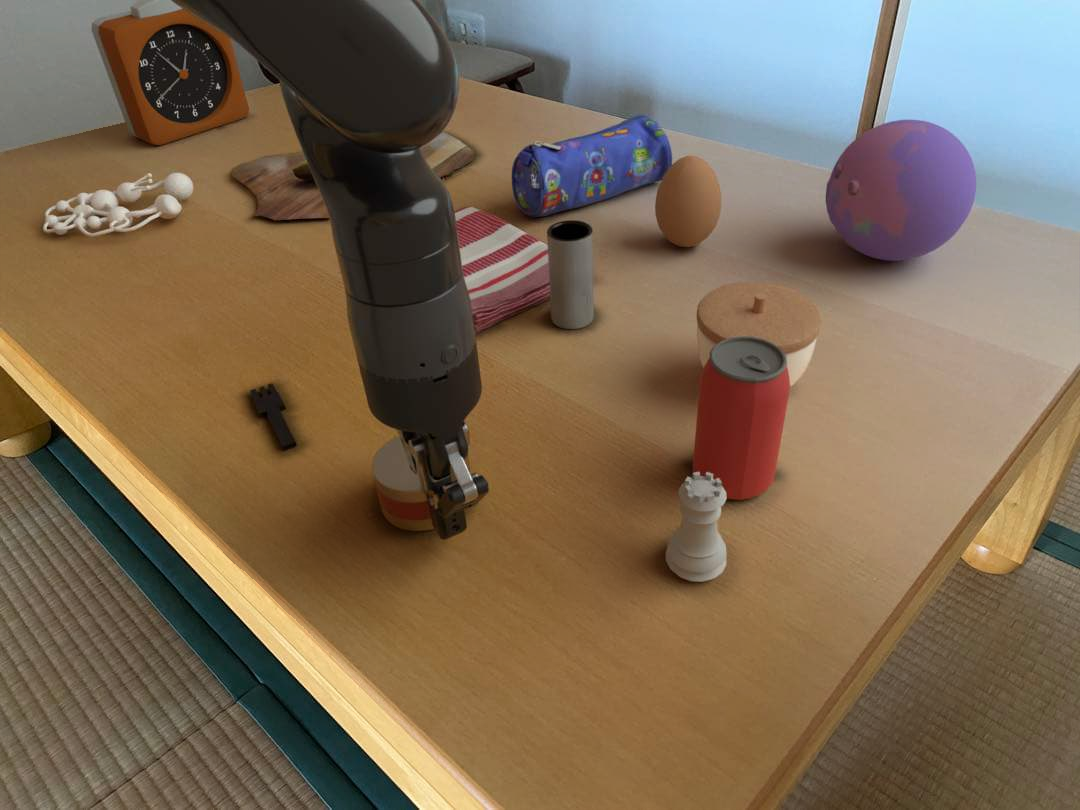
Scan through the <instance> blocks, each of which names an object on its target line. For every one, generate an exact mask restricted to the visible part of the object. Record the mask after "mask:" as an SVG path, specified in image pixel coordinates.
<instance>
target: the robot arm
mask: <svg viewBox="0 0 1080 810" xmlns="http://www.w3.org/2000/svg"><path fill="white" fill-rule="evenodd" d="M171 1H173V2H174V3H175V4H177V5H178V6H180V7H181V8H183V9H184V10H186V11H187V12H189V13H190V14H192V15H193V16H195V17H196V18H198V19H200V20H201V21H203V22H205V23H206V24H208V25H210V26H212V27H213V28H215V29H217V30H219V31H220V32H222V33H224V34H225V35H227V36H228V37H230V39H231V41H233V42H235V43H236V44H237V45H238V46H240V47H241V48H242V49H243V50H245V51H246V52H247V53H248V54H249V55H250V56H251V57H252V58H253V59H254V60H256V61H257V62H258V63H259V64H260V65H262V67H264V68H265V69H266V70H267V71H269V72H270V73H271V74H272V75H273V76H274V77H275V78H276V79H278V82H279V86H280V90H281V94H282V98H283V101H284V104H285V107H286V110H287V113H288V116H289V118H290V122H291V124H292V127H293V130H294V132H295V135H296V138H297V141H298V143H299V145H300V148H301V150H302V151H301V152H303V153H304V156H305V158H306V161H307V163H308V166H309V168H310V171H311V173H312V175H313V178H314V180H315V182H316V185H317V187H318V189H319V191H320V194H321V196H322V198H323V201H324V204H325V206H326V209H327V212H328V215H329V218H328V219H329V222H330V228H331V236H332V241H333V245H334V250H335V254H336V258H337V262H338V266H339V270H340V274H341V279H342V284H343V287H344V294H345V301H346V315H347V316H346V317H347V322H348V327H349V330H350V331H349V332H350V335H351V339H352V344H353V347H354V352H355V356H356V360H357V364H358V367H359V373H360V377H361V381H362V385H363V389H364V394H365V398H366V401H367V405H368V408H369V411H370V412H371V414H372V416H373V417H374V418H375V419H376V420H377V421H378V422H380V423H381V424H382V425H384V426H387V427H388V428H391V429H394V430H396V433H397V434H398V436H400V439H401V441H402V444H403V447H404V449H405V452H406V455H407V459H408V463H409V466H410V469H411V470H412V471H413V472H414V474H418V478H419V480H420V488H421V490H422V492H424V494H425V495H426V496H427V501H428V505H429V510H430V515H431V520H432V525H433V527H434V529H433V530H434V531H435V532H436V534H437V535H438V537H439V538H440V540H442V541H445V540H448V539H450V538H453V537H455V536H457V535H459V534H461V533H463V532H465V531H466V529H467V528H468V526H467V520H466V519H467V518H466V512H465V510H466V509H471V508H473V507H475V506H477V505H478V504H479V502H481V500H482V499H483V498H484V497H485V496H486V495H487V494H488V493H489V492H490V490H489V482H488V480H487V479H486V478H485V476H483V474H480V475H478V473H477V472H473V473H471V466H470V459H469V446H470V444H471V437H470V436H471V435H470V430H469V427H468V425H467V423H466V422H465V420H466V419H467V418H468V416H469V415H470V414H471V412H472V411H473V410H474V409H475V408H476V406H477V404H478V403H479V401H480V399H481V396H482V392H483V384H482V376H481V368H480V360H479V352H478V345H477V337H476V334H475V329H474V322H473V314H472V307H471V301H470V296H469V292H468V289H467V286H466V282H465V279H464V275H463V269H462V262H461V254H460V247H459V239H458V232H457V225H456V218H455V213H454V211H455V208H454V204H453V201H452V197H451V195H450V192H449V190H448V188H447V186H446V185H445V182H443V180H442V179H441V178H439V177H438V176H437V175H436V174H435V172H434V171H433V170H432V169H431V167H430V166H429V165H428V163H427V161H426V160H425V158H424V156H423V154H422V151H421V147H423V146H425V145H426V144H428V143H430V142H431V141H432V140H434V139H435V138H436V137H437V136H438V135H439V134H440V133H441V132H444V130H445V129H446V127H447V126H448V124H450V121H451V119H452V117H453V115H454V113H455V110H456V107H457V103H458V99H459V98H458V97H459V90H460V76H459V69H458V64H457V60H456V57H455V53H454V50H453V47H452V45H451V43H450V41H449V39H448V37H447V35H446V33H445V31H444V30H443V28H442V27H441V26H440V24H439V22H438V21H437V20H436V19H435V18H434V17H433V15H432V14H431V13H430V11H428V10H427V8H426V7H425V6H424V5H423V4H422V3H421V2H420V1H419V0H171Z"/></svg>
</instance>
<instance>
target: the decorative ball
mask: <svg viewBox="0 0 1080 810" xmlns="http://www.w3.org/2000/svg"><path fill="white" fill-rule="evenodd" d="M976 193H977V173H976V169H975V165H974V162H973V159H972V157H971V154H970V152H969V150H968V149H967V148H966V146H965V145H964V144H963V142H962V141H961V140H960V139H959V138H958V137H957V136H956V135H955V134H953V132H951V131H950V130H948V129H946V128H944V127H943V126H940V125H939V124H936V123H933V122H930V121H926V120H921V119H898V120H893V121H888V122H885V123H881V124H878V125H877V126H875V127H872V128H870V129H868V130H867V131H865V132H863V133H861V134H860V135H859V136H858V137H856V139H854V140H853V141H852V142H851V143H850V144H849V145H848V146H847V147H845V149H844V151H843V152H842V153H841V155H840V156H839V157H838V159H837V161H836V162H835V164H834V166H833V168H832V170H831V174H830V176H829V179H828V181H827V184H826V188H825V206H826V212H827V214H828V218H829V222H830V223H831V224H832V226H833V227H834V229H835V231H836V232H837V234H838V235H839V237H841V238H842V240H843V241H844V242H845V243H846V244H847V245H848V246H850V247H851V248H852V249H854V250H855V251H857V252H859V253H860V254H862V255H865V256H867V257H870V258H873V259H876V260H882V261H892V262H896V261H907V260H913V259H916V258H921V257H923V256H925V255H928V254H929V253H932V252H934V251H936V250H937V249H939V248H941V247H942V246H943V245H944V244H946V243H947V242H948V241H949V240H951V239H952V238H953V237H954V236H955V235H956V234H957V232H959V231H960V229H961V228H962V226H963V225H964V223H965V222H966V220H967V218H968V217H969V215H970V213H971V210H972V208H973V205H974V202H975V198H976Z"/></svg>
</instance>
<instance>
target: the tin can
mask: <svg viewBox="0 0 1080 810" xmlns="http://www.w3.org/2000/svg"><path fill="white" fill-rule="evenodd" d="M371 472H372V476H373V482H374V486H375V490H376V494H377V498H378V502H379V504H380V507H381V511H382V514H383V516H384V517H385V519H386V520H387V521H388V523H390V524H391V525H393V526H395V527H396V528H398V529H401V530H403V531H410V532H426V531H432V530H435V529H434V527H433V525H432V520H431V515H430V510H429V505H428V501H427V496H426V495H425V494H424V492H422V490H421V488H420V480H419V478H418V474H414V472H413V471H412V470H411V469H410V466H409V463H408V459H407V455H406V452H405V449H404V447H403V444H402V441H401V439H400V436H399V435H397V436H395V437H393V438H391V439H389V440H388V441H386V442H385V443H384V444H382V446H380V448H379V449H378V450H377V451H376V453H375V455H374V456H373V459H372V462H371Z"/></svg>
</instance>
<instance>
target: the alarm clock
mask: <svg viewBox="0 0 1080 810" xmlns="http://www.w3.org/2000/svg"><path fill="white" fill-rule="evenodd" d="M91 33H92V35H93V38H94V40H95V44H96V46H97V50H98V52H99V54H100V57H101V60H102V63H103V66H104V68H105V71H106V74H107V77H108V79H109V82H110V85H111V88H112V91H113V93H114V96H115V98H116V102H117V104H118V106H119V109H120V112H121V114H122V117H123V120H124V123H125V125H126V128H127V130H128V132H129V133H130V134H131V135H132V136H134V137H135V138H138V139H140V140H142V141H144V142H146V143H148V144H150V145H152V146H160V147H161V146H163V145H166V144H169V143H171V142H175V141H178V140H181V139H185V138H187V137H191V136H193V135H197V134H199V133H203V132H206V131H208V130H209V131H210V130H212V129H215V128H218V127H221V126H224V125H226V124H230V123H233V122H236V121H239V120H243V119H244V118H246V117H247V116H248V115H249V112H250V106H249V103H248V99H247V95H246V92H245V88H244V84H243V80H242V76H241V73H240V70H239V66H238V62H237V59H236V55H235V51H234V47H233V42H232V39H231V38H230V37H228V36H227V35H225V34H224V33H222V32H220V31H219V30H217V29H215V28H213V27H212V26H210V25H208V24H206V23H205V22H203V21H201V20H200V19H198V18H196V17H195V16H193V15H192V14H190V13H189V12H187V11H186V10H184V9H183V8H181V7H180V6H178V5H177V4H175V3H174V2H173V1H171V0H137V1H136V2H135V3H133V4H132V5H131V6H130V10H128V11H124V12H119V13H116V14H115V13H114V14H111V15H106V16H102V17H98V18H96V19H95V20H94V21H92V22H91Z"/></svg>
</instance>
